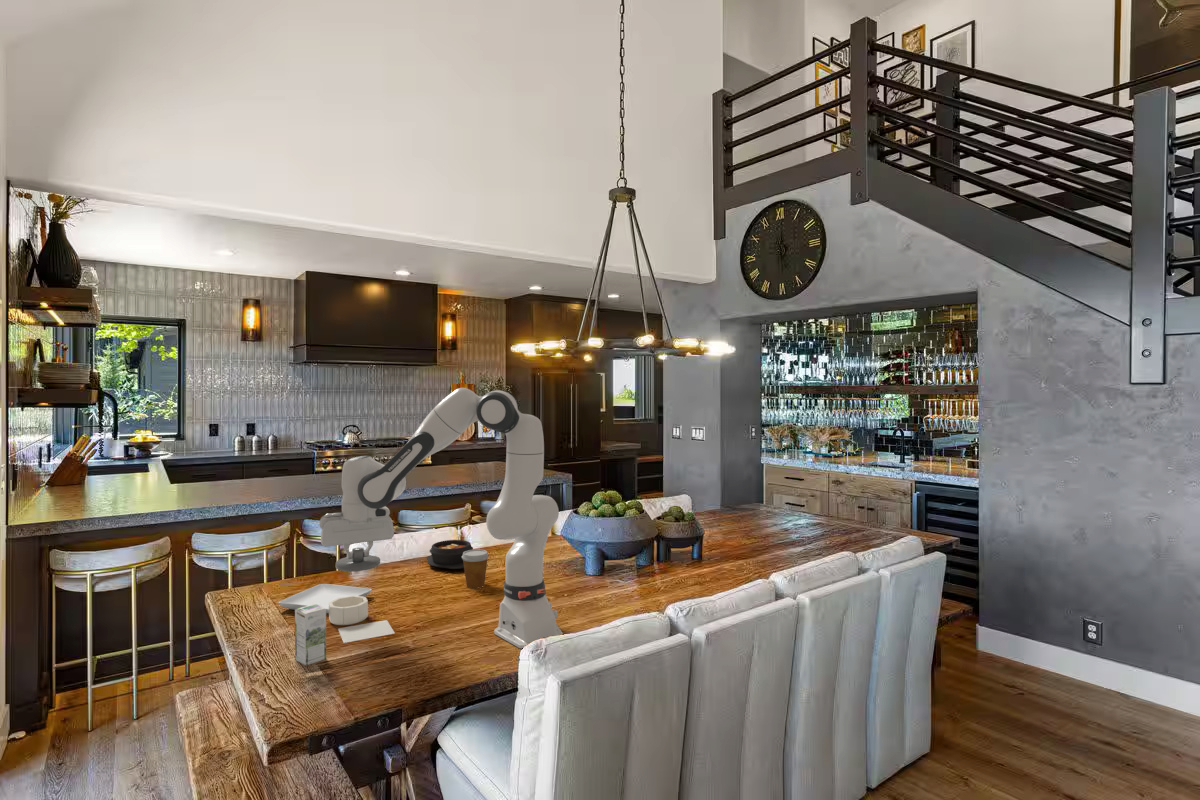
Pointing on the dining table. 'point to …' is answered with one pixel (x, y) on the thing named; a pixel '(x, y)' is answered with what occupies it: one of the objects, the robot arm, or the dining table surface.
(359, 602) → the bowl
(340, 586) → the salad plate
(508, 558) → the robot arm
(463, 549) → the casserole
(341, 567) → the lid
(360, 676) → the dining table surface
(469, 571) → the disposable coffee cup
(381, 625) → the mat
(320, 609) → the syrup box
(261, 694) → the dining table surface
